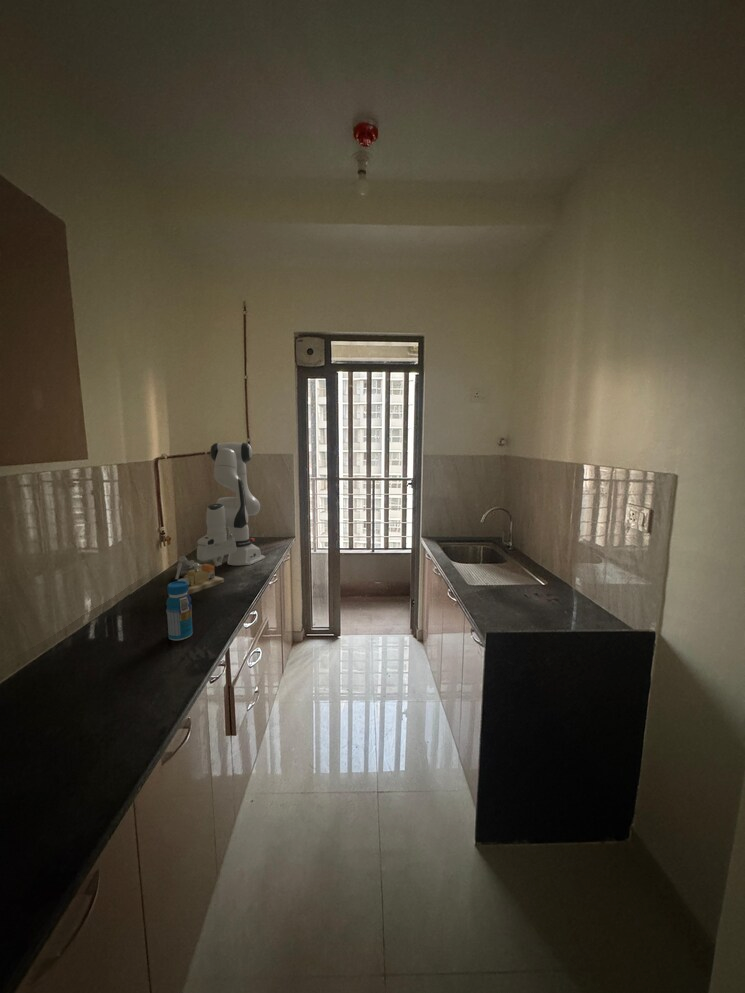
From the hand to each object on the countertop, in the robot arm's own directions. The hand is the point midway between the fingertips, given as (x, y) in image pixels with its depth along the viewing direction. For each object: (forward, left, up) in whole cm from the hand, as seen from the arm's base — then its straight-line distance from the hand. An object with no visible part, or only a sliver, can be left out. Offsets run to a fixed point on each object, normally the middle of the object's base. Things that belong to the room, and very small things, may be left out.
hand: (218, 565), depth 192 cm
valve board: (+5, -10, -11) cm, 15 cm away
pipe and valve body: (+5, -10, -9) cm, 14 cm away
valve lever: (+5, -4, -2) cm, 7 cm away
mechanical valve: (+4, -23, -11) cm, 26 cm away
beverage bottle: (+39, +29, -11) cm, 50 cm away
